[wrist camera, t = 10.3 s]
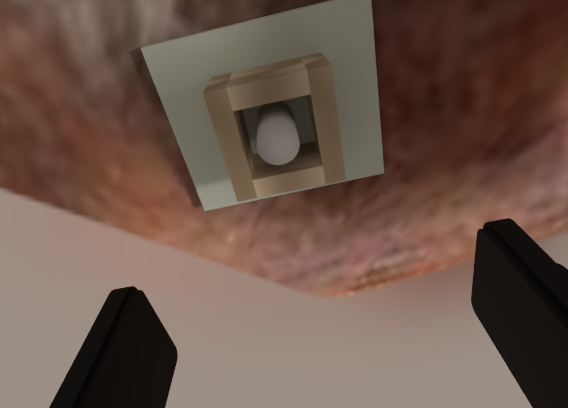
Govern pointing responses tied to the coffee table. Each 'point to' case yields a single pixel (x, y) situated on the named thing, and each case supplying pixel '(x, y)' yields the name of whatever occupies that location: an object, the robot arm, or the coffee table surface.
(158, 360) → the robot arm
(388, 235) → the coffee table surface
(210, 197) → the post block
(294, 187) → the ring
